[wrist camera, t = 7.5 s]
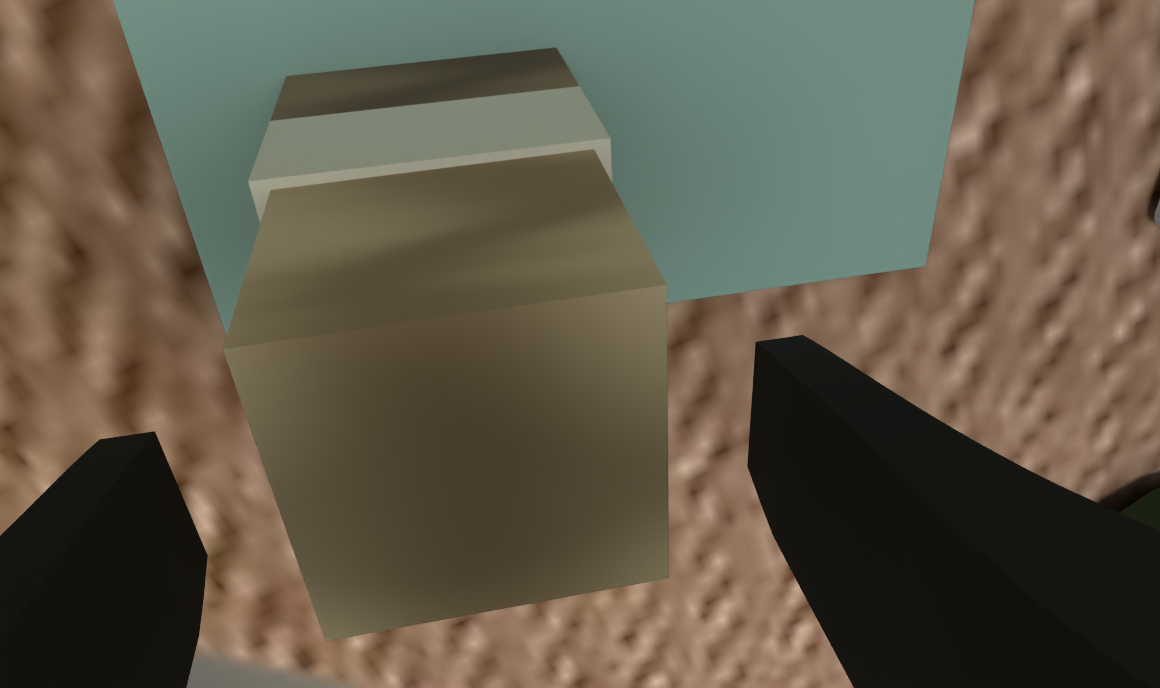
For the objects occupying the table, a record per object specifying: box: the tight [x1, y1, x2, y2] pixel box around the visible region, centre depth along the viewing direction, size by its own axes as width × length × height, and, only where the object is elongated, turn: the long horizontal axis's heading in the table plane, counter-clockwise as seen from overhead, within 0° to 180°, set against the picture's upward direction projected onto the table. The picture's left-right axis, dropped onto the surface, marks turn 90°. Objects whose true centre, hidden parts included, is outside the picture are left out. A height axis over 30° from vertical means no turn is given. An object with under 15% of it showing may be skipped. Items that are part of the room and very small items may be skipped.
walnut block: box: [270, 47, 579, 121], centre depth 16 cm, size 5×5×2 cm
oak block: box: [223, 149, 669, 641], centre depth 12 cm, size 4×4×4 cm
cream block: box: [248, 86, 612, 223], centre depth 14 cm, size 5×5×2 cm
